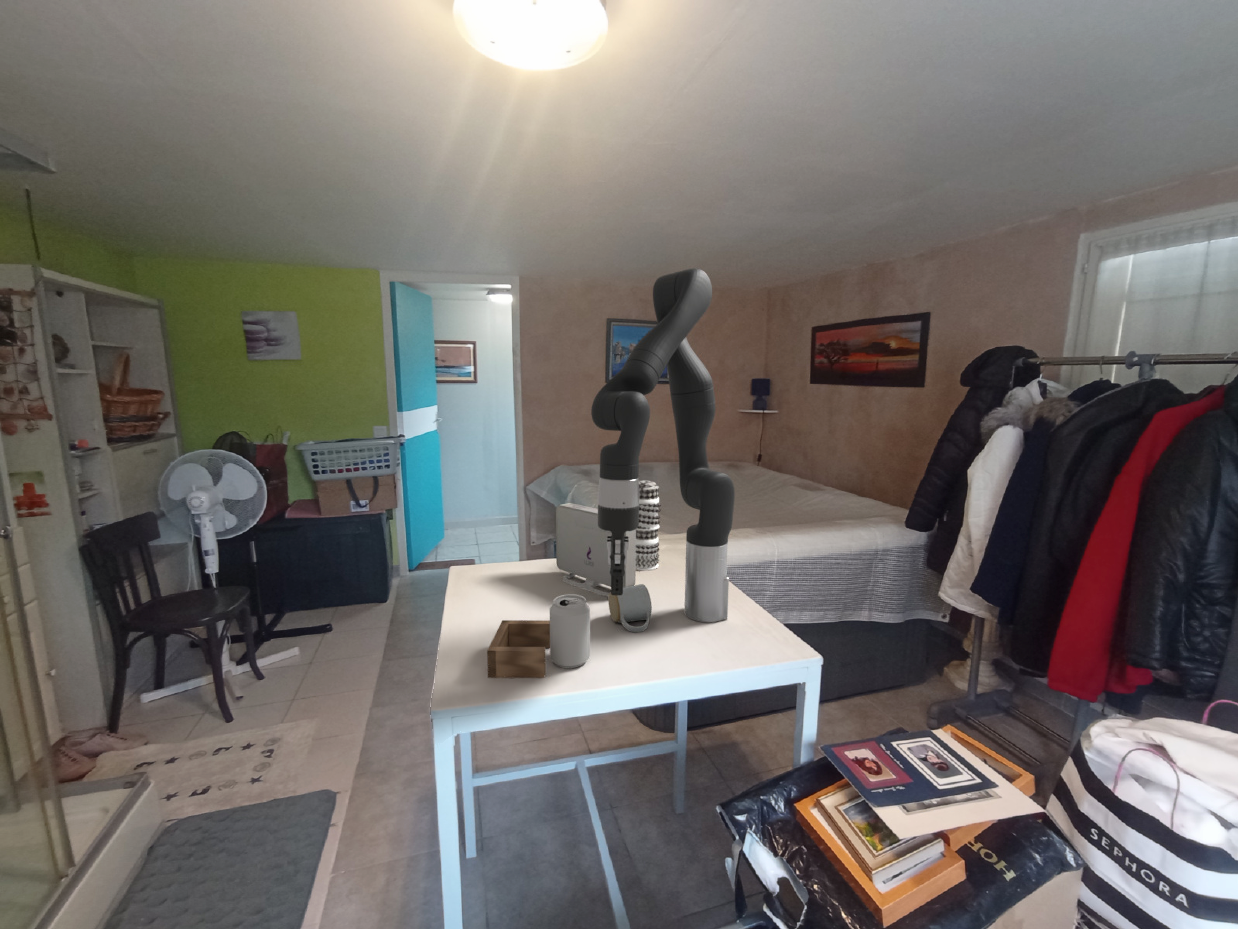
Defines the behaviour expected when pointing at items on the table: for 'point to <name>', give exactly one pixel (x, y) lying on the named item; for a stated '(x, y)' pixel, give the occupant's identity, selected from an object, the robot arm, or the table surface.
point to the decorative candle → (648, 526)
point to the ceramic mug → (631, 606)
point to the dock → (519, 649)
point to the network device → (588, 548)
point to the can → (569, 631)
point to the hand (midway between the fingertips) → (616, 593)
